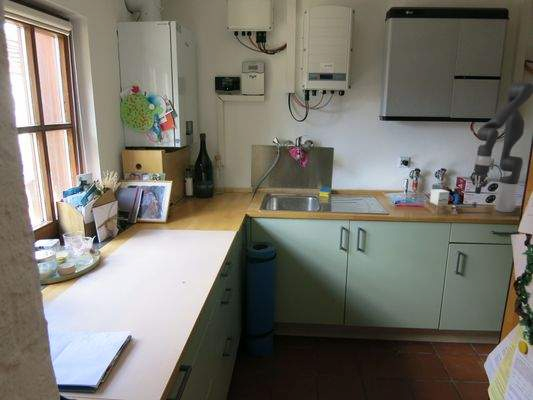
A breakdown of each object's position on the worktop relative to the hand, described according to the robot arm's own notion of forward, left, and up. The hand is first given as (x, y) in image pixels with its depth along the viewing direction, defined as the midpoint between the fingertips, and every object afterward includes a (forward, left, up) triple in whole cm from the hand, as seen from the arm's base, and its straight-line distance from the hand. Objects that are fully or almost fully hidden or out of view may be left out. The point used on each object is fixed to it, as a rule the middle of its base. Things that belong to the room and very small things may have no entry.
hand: (477, 193), depth 221 cm
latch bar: (+4, -5, -10) cm, 12 cm away
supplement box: (+17, -10, -13) cm, 24 cm away
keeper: (+15, -10, -13) cm, 22 cm away
